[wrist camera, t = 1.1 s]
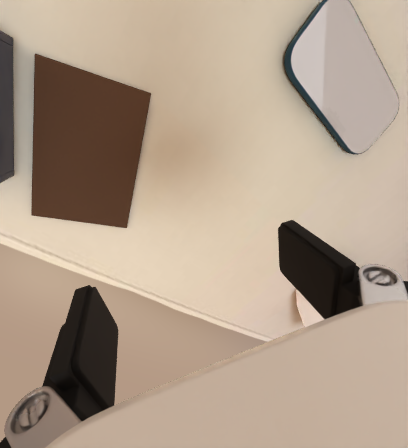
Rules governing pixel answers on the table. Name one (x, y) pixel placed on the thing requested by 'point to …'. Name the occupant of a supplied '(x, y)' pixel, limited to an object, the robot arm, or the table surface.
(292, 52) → the external hard drive
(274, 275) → the table surface
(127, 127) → the desk pad
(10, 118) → the bin
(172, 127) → the table surface
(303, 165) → the table surface
